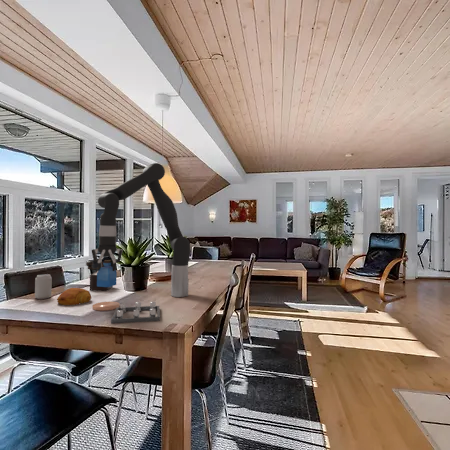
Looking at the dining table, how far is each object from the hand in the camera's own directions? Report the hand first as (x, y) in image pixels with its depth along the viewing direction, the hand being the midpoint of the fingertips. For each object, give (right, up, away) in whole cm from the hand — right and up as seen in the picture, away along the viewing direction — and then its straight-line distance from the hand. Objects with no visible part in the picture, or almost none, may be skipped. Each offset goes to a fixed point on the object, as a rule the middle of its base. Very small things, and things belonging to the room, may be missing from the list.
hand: (107, 270), depth 143 cm
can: (-40, -17, +16) cm, 46 cm away
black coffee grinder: (-19, -17, +37) cm, 46 cm away
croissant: (-20, -17, +8) cm, 28 cm away
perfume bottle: (0, -7, 0) cm, 7 cm away
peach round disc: (0, -17, 0) cm, 17 cm away
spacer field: (+18, -18, -12) cm, 28 cm away
